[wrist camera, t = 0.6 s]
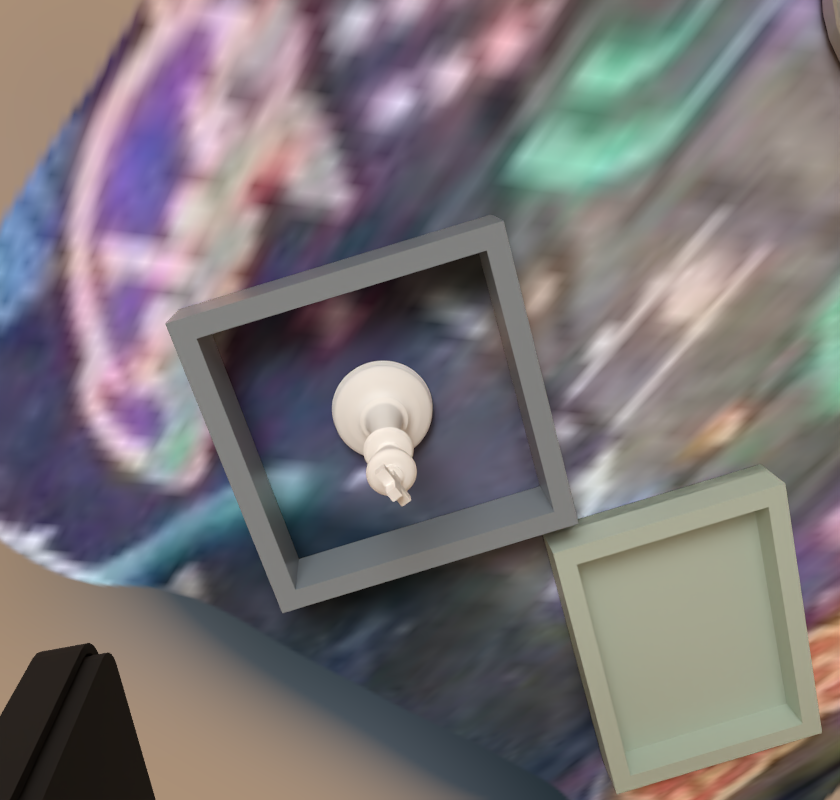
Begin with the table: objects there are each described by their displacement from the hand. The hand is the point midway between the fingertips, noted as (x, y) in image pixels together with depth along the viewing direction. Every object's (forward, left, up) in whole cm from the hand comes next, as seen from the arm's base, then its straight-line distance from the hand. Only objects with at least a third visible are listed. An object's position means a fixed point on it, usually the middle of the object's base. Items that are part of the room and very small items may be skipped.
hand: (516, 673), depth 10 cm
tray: (-10, +23, -29) cm, 38 cm away
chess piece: (+2, +6, -29) cm, 30 cm away
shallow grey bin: (+2, +6, -29) cm, 30 cm away
